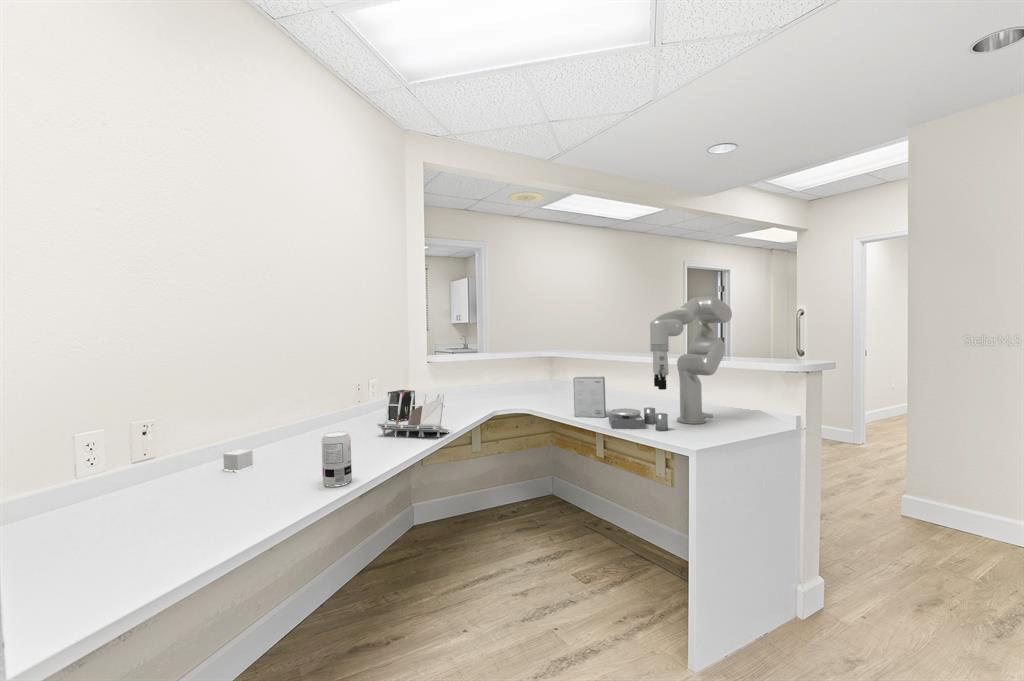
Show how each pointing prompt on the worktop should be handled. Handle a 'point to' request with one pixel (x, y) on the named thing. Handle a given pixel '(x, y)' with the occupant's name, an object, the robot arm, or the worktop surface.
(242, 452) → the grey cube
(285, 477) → the worktop surface
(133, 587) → the worktop surface
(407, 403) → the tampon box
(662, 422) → the cylinder
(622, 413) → the scale pan
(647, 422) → the steel spacer
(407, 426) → the architectural model
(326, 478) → the supplement can
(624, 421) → the scale body
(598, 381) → the hard drive box
